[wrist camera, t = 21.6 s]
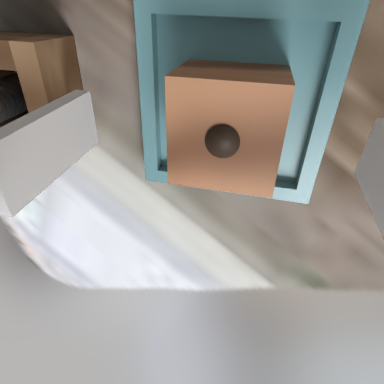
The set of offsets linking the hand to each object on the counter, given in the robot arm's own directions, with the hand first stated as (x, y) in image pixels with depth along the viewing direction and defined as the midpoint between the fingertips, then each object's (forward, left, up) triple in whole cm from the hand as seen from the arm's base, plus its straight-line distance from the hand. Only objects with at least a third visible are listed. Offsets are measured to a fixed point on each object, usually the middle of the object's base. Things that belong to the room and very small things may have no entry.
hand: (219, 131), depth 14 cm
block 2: (+1, 0, -6) cm, 6 cm away
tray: (+1, 0, -6) cm, 6 cm away
